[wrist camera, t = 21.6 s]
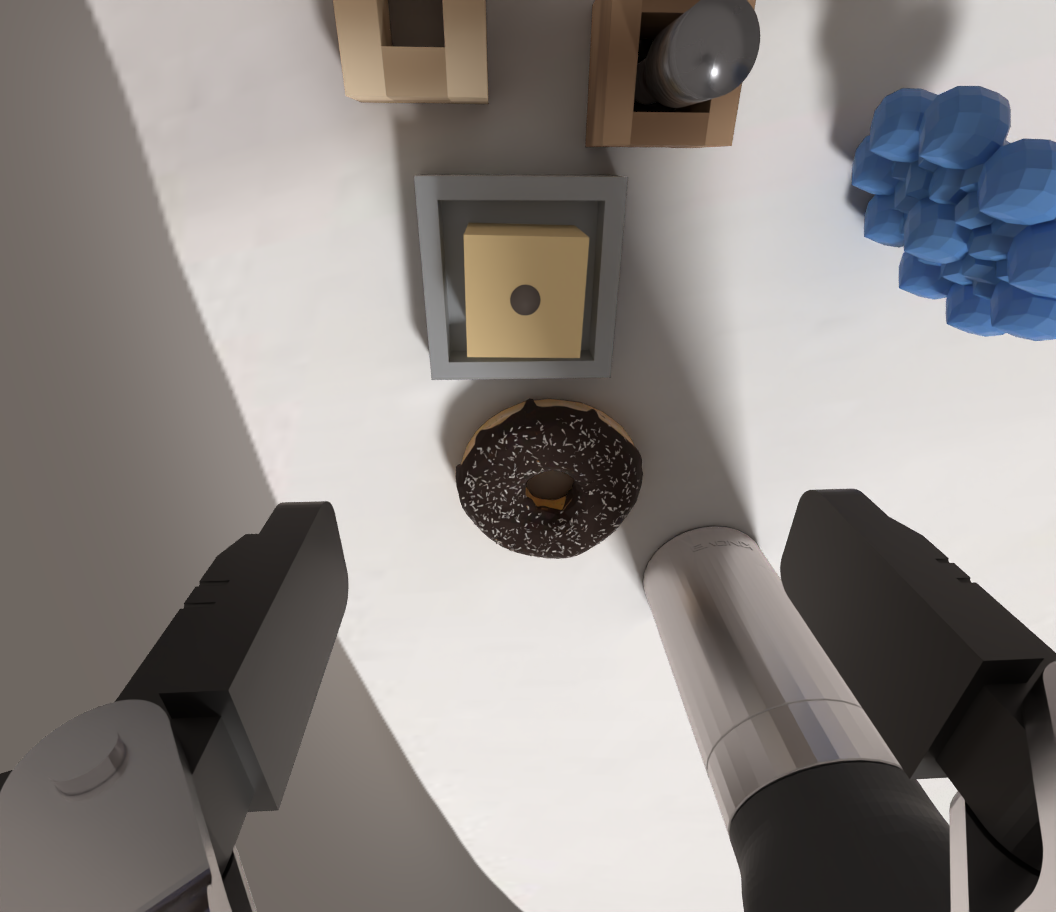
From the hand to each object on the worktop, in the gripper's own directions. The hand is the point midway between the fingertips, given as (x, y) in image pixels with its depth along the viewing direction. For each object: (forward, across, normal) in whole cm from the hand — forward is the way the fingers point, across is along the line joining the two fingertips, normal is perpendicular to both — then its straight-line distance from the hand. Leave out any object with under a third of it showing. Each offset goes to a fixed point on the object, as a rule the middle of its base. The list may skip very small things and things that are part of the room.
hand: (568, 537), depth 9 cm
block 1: (+22, 0, 0) cm, 23 cm away
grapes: (+23, -20, -4) cm, 31 cm away
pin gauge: (+23, -6, -9) cm, 26 cm away
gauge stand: (+23, +4, -11) cm, 26 cm away
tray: (+23, 0, 0) cm, 23 cm away
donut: (+24, -2, +12) cm, 27 cm away
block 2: (+23, -6, -9) cm, 26 cm away
